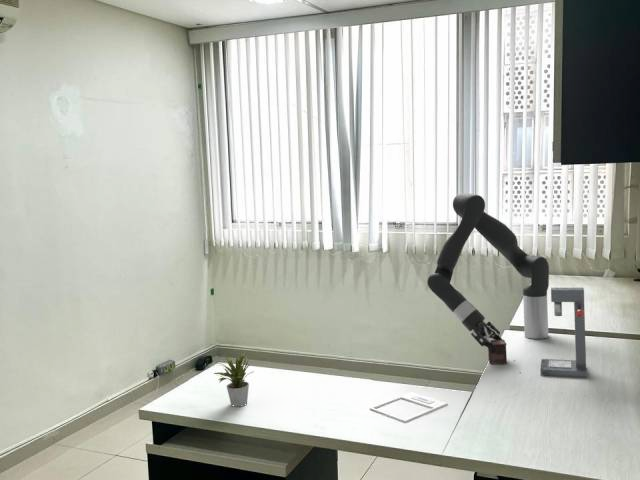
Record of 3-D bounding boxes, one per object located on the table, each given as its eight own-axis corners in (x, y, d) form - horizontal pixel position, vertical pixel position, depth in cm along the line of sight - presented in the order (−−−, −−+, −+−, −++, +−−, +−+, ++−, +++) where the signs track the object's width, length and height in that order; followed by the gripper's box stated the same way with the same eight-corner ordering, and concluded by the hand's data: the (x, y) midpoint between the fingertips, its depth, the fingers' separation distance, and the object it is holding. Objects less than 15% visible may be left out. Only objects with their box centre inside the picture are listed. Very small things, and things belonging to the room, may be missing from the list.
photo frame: (447, 402, 179) (405, 420, 168) (447, 406, 180) (405, 424, 169) (411, 391, 191) (369, 407, 180) (411, 394, 191) (369, 410, 180)
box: (507, 364, 214) (506, 344, 213) (489, 364, 215) (488, 344, 214) (505, 359, 219) (504, 339, 219) (488, 359, 221) (487, 339, 220)
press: (541, 364, 211) (538, 285, 208) (585, 366, 205) (583, 285, 203) (540, 380, 195) (537, 295, 192) (587, 383, 190) (585, 295, 187)
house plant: (225, 394, 202) (221, 347, 200) (265, 394, 199) (261, 346, 198) (210, 411, 188) (206, 359, 186) (253, 410, 185) (249, 359, 184)
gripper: (467, 312, 214) (500, 347, 208) (482, 304, 226) (514, 337, 220) (454, 326, 218) (486, 361, 212) (469, 317, 229) (500, 350, 223)
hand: (500, 349), depth 216 cm, fingers closed on box, 8 cm apart
